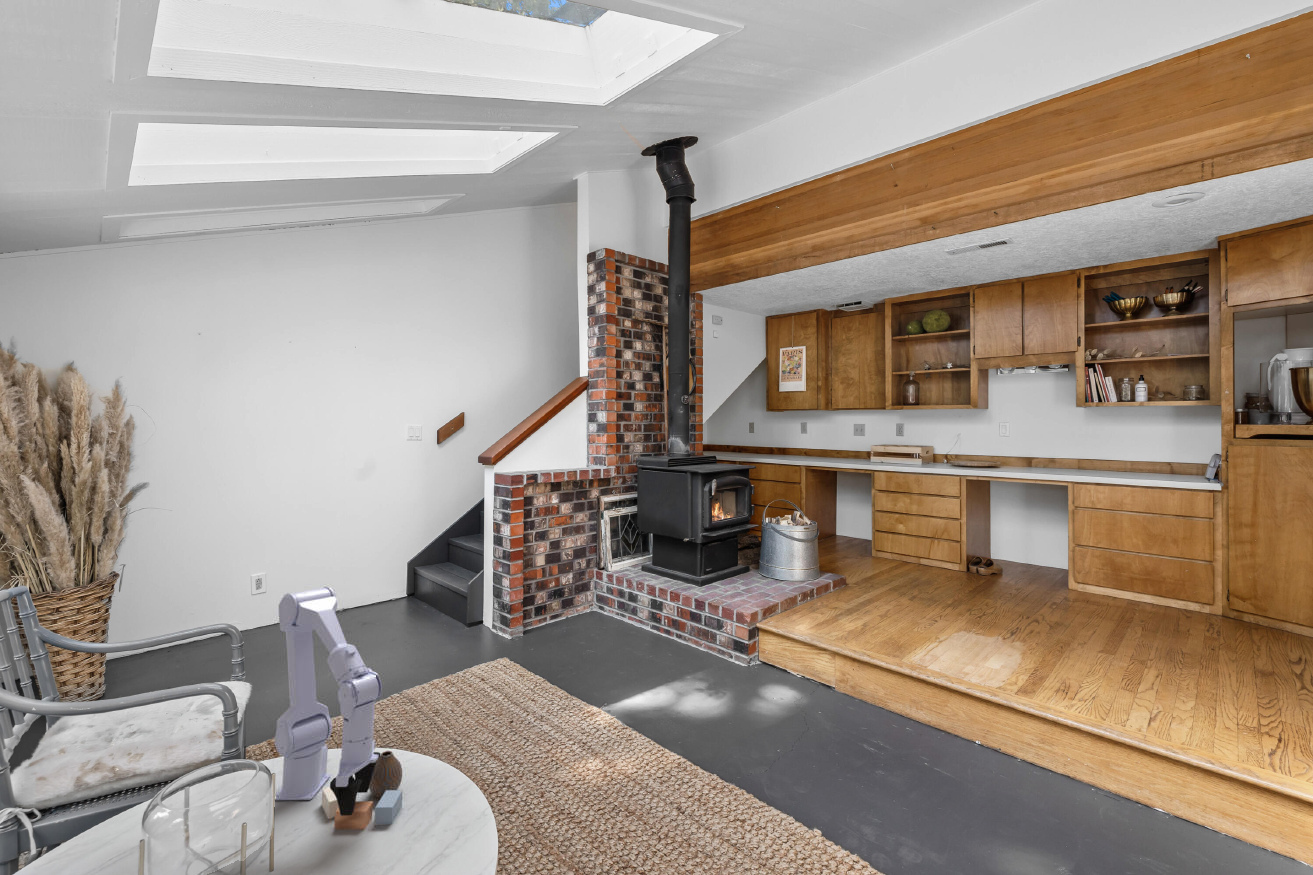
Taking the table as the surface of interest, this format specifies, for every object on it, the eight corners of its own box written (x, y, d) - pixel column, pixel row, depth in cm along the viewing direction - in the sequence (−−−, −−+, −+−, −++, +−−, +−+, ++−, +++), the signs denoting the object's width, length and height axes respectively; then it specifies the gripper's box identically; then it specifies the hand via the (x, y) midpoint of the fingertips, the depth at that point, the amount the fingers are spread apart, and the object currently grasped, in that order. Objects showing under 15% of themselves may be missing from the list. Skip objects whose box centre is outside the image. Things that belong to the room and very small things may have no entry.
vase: (392, 803, 127) (394, 762, 127) (361, 801, 127) (363, 760, 127) (406, 785, 134) (408, 746, 134) (377, 783, 134) (378, 744, 134)
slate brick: (385, 807, 126) (386, 790, 126) (401, 806, 126) (402, 790, 126) (374, 825, 120) (375, 807, 120) (391, 824, 120) (392, 807, 120)
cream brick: (321, 805, 125) (322, 788, 125) (339, 799, 127) (339, 783, 128) (328, 819, 121) (329, 802, 121) (346, 813, 123) (347, 796, 123)
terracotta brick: (334, 829, 118) (335, 811, 118) (342, 818, 121) (342, 801, 121) (365, 829, 118) (366, 811, 118) (372, 818, 122) (372, 800, 122)
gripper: (364, 753, 113) (360, 824, 113) (390, 718, 128) (387, 782, 127) (325, 753, 113) (322, 825, 112) (357, 719, 127) (354, 782, 127)
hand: (354, 802), depth 120 cm, fingers open, 7 cm apart
